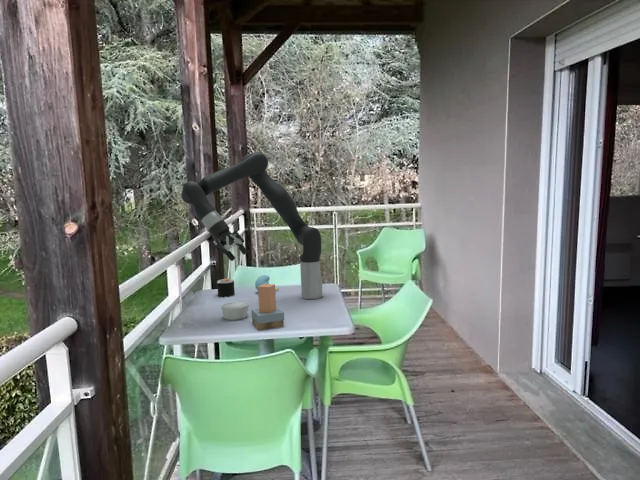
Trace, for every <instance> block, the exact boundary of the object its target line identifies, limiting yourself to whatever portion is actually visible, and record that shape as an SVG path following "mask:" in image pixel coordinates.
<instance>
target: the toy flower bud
mask: <svg viewBox="0 0 640 480" xmlns="http://www.w3.org/2000/svg"><path fill="white" fill-rule="evenodd" d="M270 280H271V278H270V276H269V275H266V274H263V275H259V276H258V277H257V279H256V280H255V282H254V283H255V284H254V286H255V289H256V290H257V291H258V286H260V285H262V284H270V282H269V281H270ZM279 290H280V286H278V287H275V292H276V291H279Z"/></svg>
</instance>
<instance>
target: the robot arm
mask: <svg viewBox="0 0 640 480" xmlns="http://www.w3.org/2000/svg"><path fill="white" fill-rule="evenodd" d="M268 166H269V160H268V158H267V156H266V155H265V154H264V153H262V152H260V151H259V152H258V151H257V152H252V153H248V154H245V155H244V156H243V157H242V159H241V162H238V163H236V164H235V165H232V166H229V167H226V168H223V169H220V170H217V171H215V172H212V173H210V174H208V175H206V176H204V177H202V179H201V180H200V181H199V182H196V181H192V180H191V181H190V180H189V181H186V182H185V183H184V184H183V186H182V190H181V195H180V196H181V199H182V201H183V202H184V203H185V204H188V205H189V204H191V205H193V208H194V212H195V215H196V216H197V217H198V218H199V220H200V221H201V222H202V224H203V226H204V227H205V229H206V230H207V231H208V233H209V234H210V235H211V236H212V238H213V239H214V240H213V241H212V245H213V247H214V248H215V250H216V251H217V252H218V253H219V254H220V255H223V254H224V255H225V256H226V257H227V258H228V260H229V261H230V262H233V261H235V259H236V256H235V255H234V253H232V251H231V250H230V246H233V247H234V246H235V247H237V248H238V249H239V251H240V252H241V253H242V255H247V253H248V250H247V248H246V246H245V245H244V242H245V239H243V237H242V235H240V233H239V232H238V231H237V230H234V231H232V232H231V230H230V228H231V227H230V226H229V225H228V224H227V222H226V221H225V220H224V219H223V217H222V216H221V215H220V213H218V212H217V210H216V209H215V208H214V206H213V205H212V204H211V203H210V201H209V199H208V197H207V196H208V195H210V194H213V193H215V192H217V191H218V190H221V189H224V188H225V187H227V186H229V185H231V184H233V183H235V182H237V181H239V180H242V179H243V178H244V179H245V178H247V177H249V178H250V179H251V181H253V182H254V184H256V186H257V187H258V188H259V190H260V192H261V193H262V194H263V195H264V197H265V198H266V199H267V200H268V202H269V203H270V205H271V207H272V208H273V209H274V210H275V211H276V213H277V214H278V215H279V216H280V218H281V219H282V221H284V223H285V224H286V225H287V226H288V228H289V229H290V231H291V232H292V234H293V236H294V238H295V239H296V241H297V242H298V244H300V245H301V246H302V253H301V254H300V256H299V266H300V286H301V287H300V288H301V289H300V291H301V299H305V300H315V299H320V298H323V297H324V296H323V295H324V293H323V277H322V276H321V254H322V235H321V232H320V231H319V229H318V228H316V227H313V226H309V225H307V223H306V221H304V219H302V217H301V216H300V214H299V211H298V208H297V205H296V203H295V201H294V199H293V197H292V196H291V194H290V193H289V192H288V191H287V189H285V188H284V187H283V186H282V185H281V184H279V183H278V182H277V181H276V180H275V179H273V178H272V177H271V176H270V174H268V172H267V171H266V169H267V168H268Z"/></svg>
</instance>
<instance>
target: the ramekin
mask: <svg viewBox="0 0 640 480" xmlns="http://www.w3.org/2000/svg"><path fill="white" fill-rule="evenodd" d="M221 310H222V315H223V318H224V319H225V320H228V321H237V320H242V319H243V320H244V319H245V318H247V316H248V311H249V303H248V302H245V301H231V302H227V303H223V304H221Z"/></svg>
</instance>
